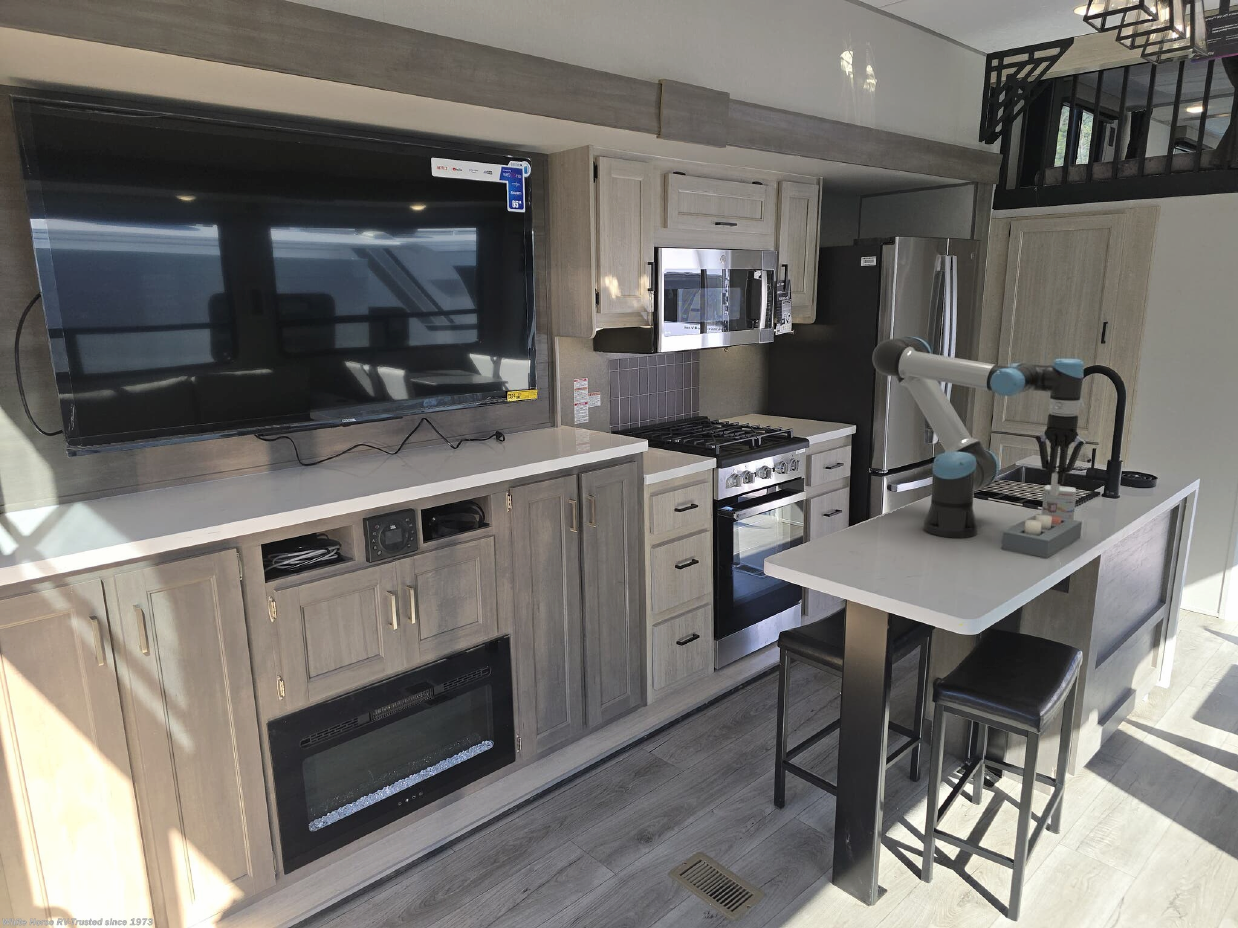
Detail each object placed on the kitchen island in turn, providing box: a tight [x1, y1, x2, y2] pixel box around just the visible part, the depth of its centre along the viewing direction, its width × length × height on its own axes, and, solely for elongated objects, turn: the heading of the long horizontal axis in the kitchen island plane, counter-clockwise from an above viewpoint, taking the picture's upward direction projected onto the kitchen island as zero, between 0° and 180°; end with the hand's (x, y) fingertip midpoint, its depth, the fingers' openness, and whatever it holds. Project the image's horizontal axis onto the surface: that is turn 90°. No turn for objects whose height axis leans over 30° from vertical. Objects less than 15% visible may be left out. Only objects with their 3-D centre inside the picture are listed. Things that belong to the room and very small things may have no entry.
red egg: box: [1051, 516, 1061, 524], centre depth 229 cm, size 4×4×5 cm
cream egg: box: [1035, 513, 1052, 530], centre depth 223 cm, size 4×4×5 cm
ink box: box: [1041, 484, 1077, 520], centre depth 240 cm, size 8×5×12 cm, turn 62°
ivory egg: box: [1024, 519, 1042, 536], centre depth 219 cm, size 4×4×5 cm
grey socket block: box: [1001, 513, 1083, 559], centre depth 224 cm, size 25×12×5 cm, turn 132°
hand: (1054, 494), depth 227 cm, fingers closed
